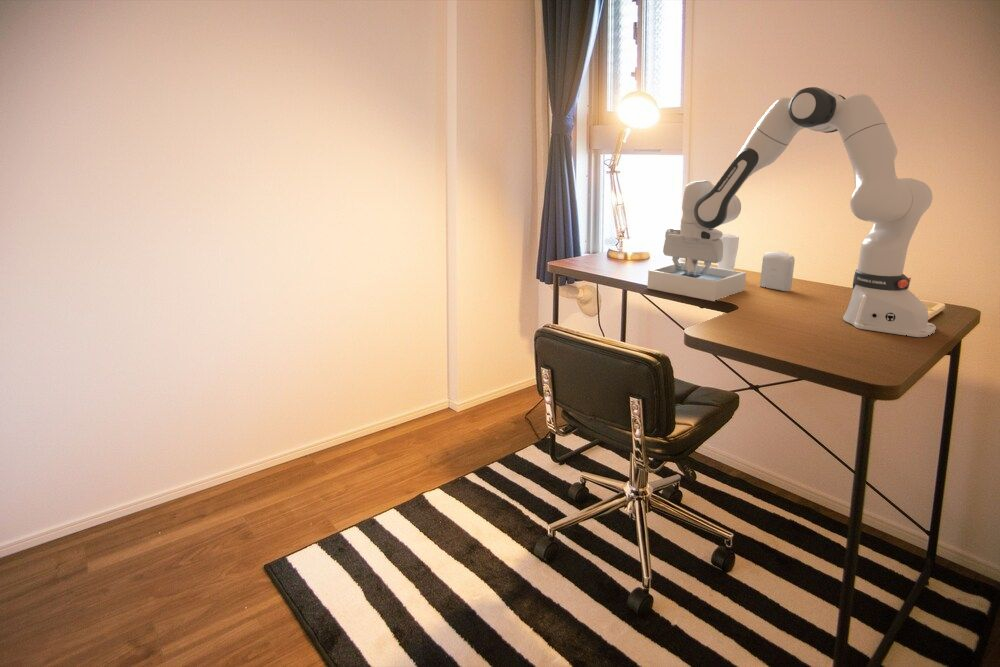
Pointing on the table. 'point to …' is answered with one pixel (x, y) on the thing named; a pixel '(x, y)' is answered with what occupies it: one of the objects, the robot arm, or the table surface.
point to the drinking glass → (729, 251)
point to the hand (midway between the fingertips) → (690, 272)
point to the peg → (691, 267)
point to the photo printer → (777, 270)
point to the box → (697, 282)
